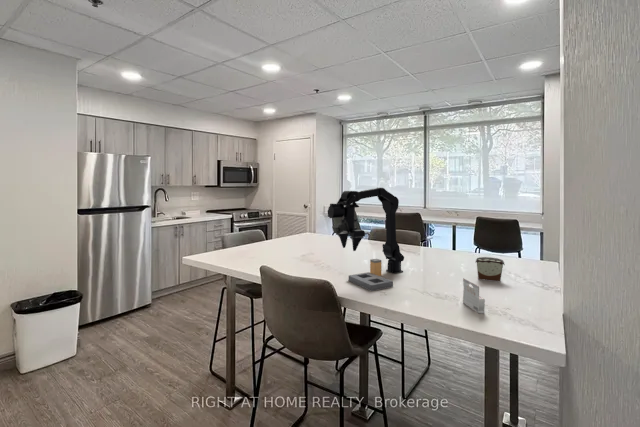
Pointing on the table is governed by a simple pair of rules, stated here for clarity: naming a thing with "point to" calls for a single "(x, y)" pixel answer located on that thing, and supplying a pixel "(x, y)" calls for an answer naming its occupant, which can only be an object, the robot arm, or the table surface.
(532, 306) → the table surface
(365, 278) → the socket plate
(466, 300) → the ink cartridge box
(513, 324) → the table surface
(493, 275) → the food container
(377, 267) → the plug
